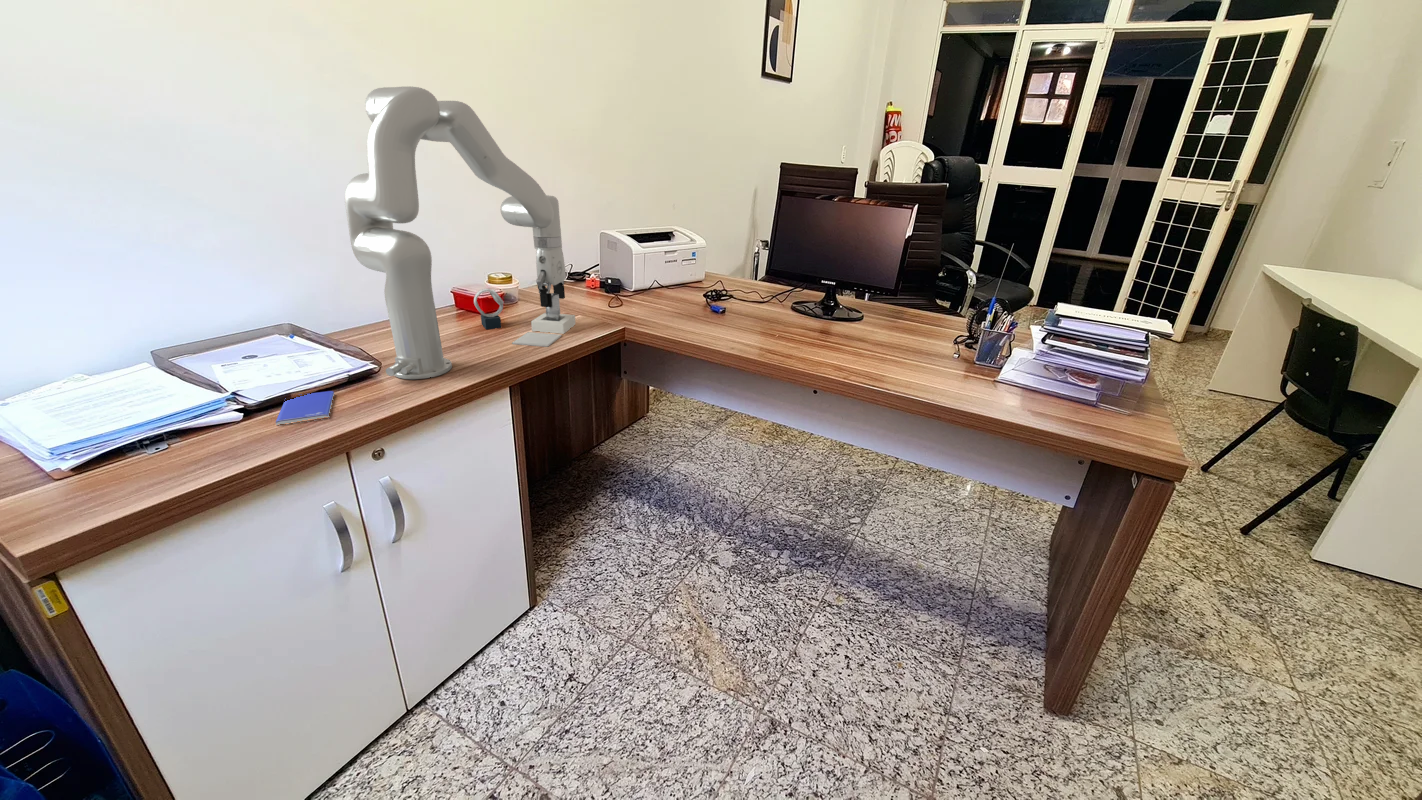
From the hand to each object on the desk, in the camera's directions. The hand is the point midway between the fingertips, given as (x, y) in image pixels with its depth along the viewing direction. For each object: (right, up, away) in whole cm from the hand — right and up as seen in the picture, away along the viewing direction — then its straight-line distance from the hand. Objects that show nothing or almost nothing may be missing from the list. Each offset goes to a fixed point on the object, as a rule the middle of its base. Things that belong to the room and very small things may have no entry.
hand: (553, 302), depth 162 cm
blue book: (-33, -31, -53) cm, 70 cm away
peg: (-1, -7, +3) cm, 8 cm away
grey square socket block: (0, -7, +3) cm, 8 cm away
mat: (-2, -12, -8) cm, 15 cm away
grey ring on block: (-19, -7, +2) cm, 20 cm away
